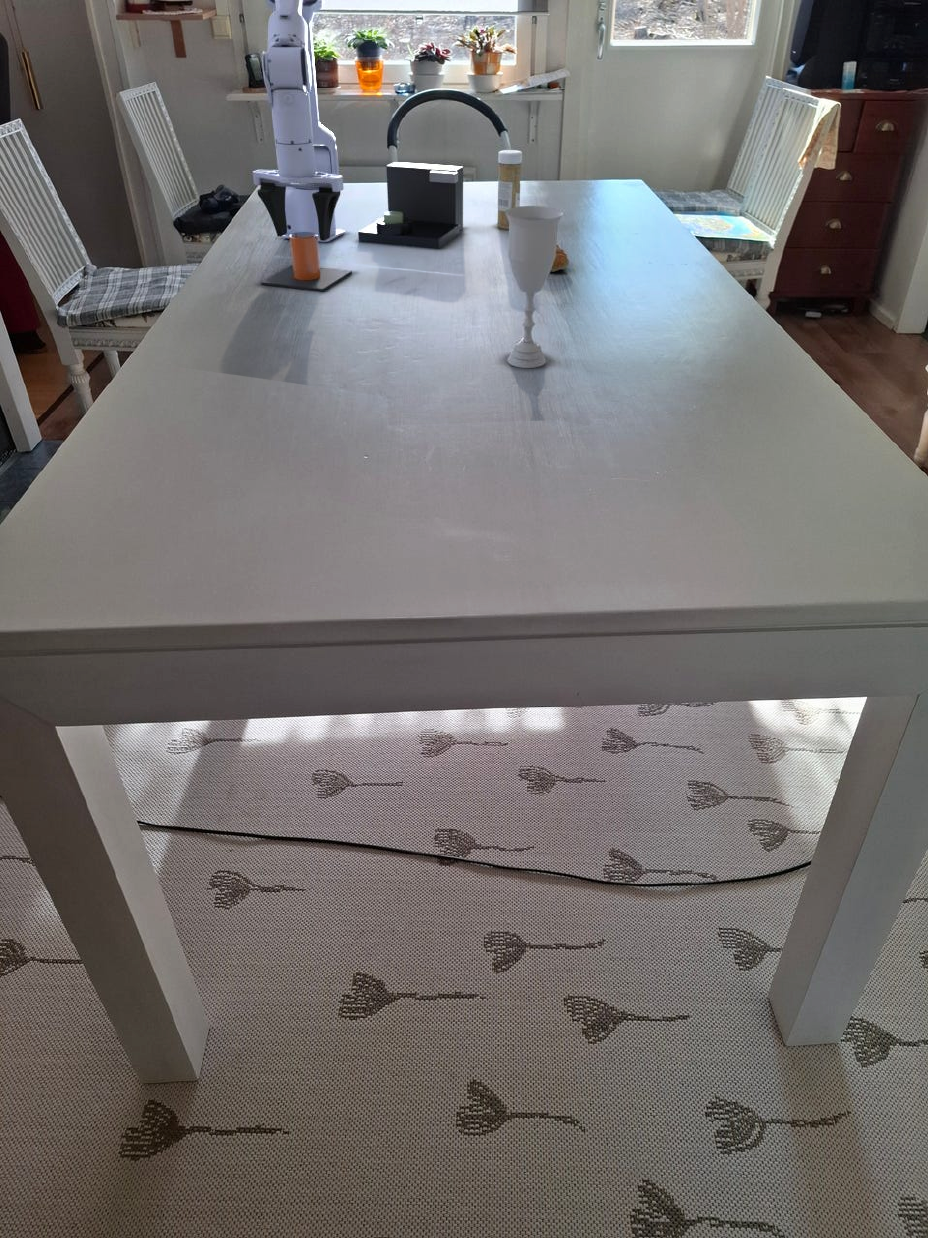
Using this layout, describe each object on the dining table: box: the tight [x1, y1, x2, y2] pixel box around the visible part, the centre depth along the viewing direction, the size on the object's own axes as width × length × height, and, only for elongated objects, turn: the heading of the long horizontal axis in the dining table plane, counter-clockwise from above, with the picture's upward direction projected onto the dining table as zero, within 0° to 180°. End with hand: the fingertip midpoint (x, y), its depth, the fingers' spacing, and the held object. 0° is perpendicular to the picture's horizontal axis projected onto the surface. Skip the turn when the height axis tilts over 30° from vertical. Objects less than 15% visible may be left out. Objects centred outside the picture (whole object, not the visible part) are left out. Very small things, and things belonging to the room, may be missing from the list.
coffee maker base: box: [357, 217, 461, 250], centre depth 164 cm, size 16×12×4 cm
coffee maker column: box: [385, 161, 464, 231], centre depth 168 cm, size 14×6×11 cm, turn 71°
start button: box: [383, 211, 403, 224], centre depth 161 cm, size 4×4×2 cm
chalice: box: [506, 205, 563, 369], centre depth 108 cm, size 7×7×18 cm
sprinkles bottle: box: [496, 149, 523, 230], centre depth 169 cm, size 5×5×14 cm
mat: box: [260, 264, 353, 293], centre depth 143 cm, size 11×11×1 cm
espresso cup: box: [289, 232, 321, 280], centre depth 141 cm, size 4×4×6 cm
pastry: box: [550, 243, 570, 273], centre depth 149 cm, size 9×7×4 cm
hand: (303, 236), depth 139 cm, fingers open, 7 cm apart
